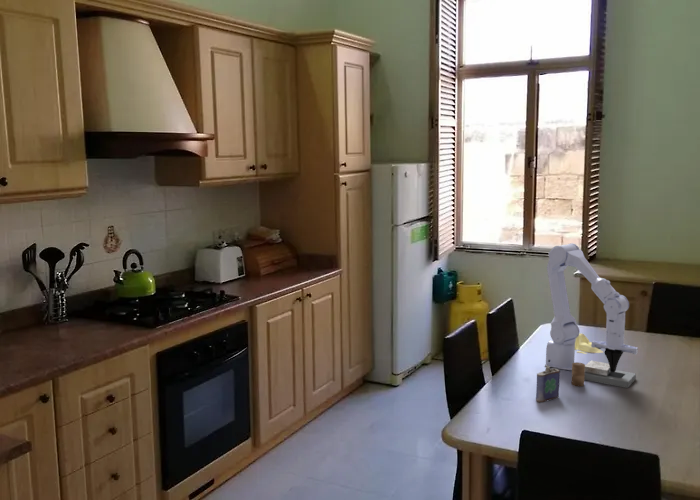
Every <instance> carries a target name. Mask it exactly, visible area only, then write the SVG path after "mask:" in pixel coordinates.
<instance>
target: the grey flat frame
mask: <svg viewBox="0 0 700 500" xmlns="http://www.w3.org/2000/svg"><path fill="white" fill-rule="evenodd" d="M636 375H637V374H636V373H634V372H629V371H624V370H618V369H616V371H615V372H611V373H610V374H609V375H608V376H604V375H598V374H593V373H587V372H585V376H584V381H590V382H596V383H600V384H605V385H610V386H616V387H621V388H626V389H628V388H630V386H631V385H632V384H633V383H634V382H635V380H636V378H637V377H636Z"/></svg>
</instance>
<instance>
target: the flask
mask: <svg viewBox="0 0 700 500" xmlns="http://www.w3.org/2000/svg"><path fill="white" fill-rule="evenodd" d="M543 367H544V368H545V369H544V370H542V371H540V372H538V373H536V392H535V393H536V394H535V401H536V402H537V403H544V402H548V401H547V400H549V401H551V400H555V399H559V398H558V397H559V392H560V391H559V390H560V378H561V370H560V369H559V368H554V367H552V368H551V367H549V366H548V365H547V366H545V365H544V366H543Z"/></svg>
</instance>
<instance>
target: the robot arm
mask: <svg viewBox="0 0 700 500" xmlns="http://www.w3.org/2000/svg"><path fill="white" fill-rule="evenodd" d="M547 253H548V261H547V266H546V271H547V277H548V284H549V289H550V295H551V297H550V298H551V301H552V302H551V303H552V307H553V314H554V317H553V319H552V321H551V322H550V332H549V334H550V338H551V339H550V340H548V341H547V343H546V350H545V364H544V366H545V367H547V365H548V366H549V368H554V369H558V370H560V369H561V370H564V371H565V370H566V371H572V363H575V355H576V354H575V352H576V350H575V341H576V338H577V337H578V336H579V333H580V327H579V326H578V324H577V322H576V318H575V317H574V316H573V315H572V314H571V308H570V303H569V297H568V292H567V286H566V285H567V284H566V277H565V272H564V271H565V270H566V269H567V268H568V267H574V268H576V270H578V271H579V273H581V275H583V277H585V279H586V280H587V281H588V282H589V283H590V284H591V285H590V286H591V287H590V288H591V290H592V292H593V293H594V294H595V295H596V297H598V299H599V300H600V302H601V303H602V304H603V310H604V311H605V314H606V317H605V318H606V325H605V327H606V328H605V341H604V340H603V341H602V340H592V341H591V342H592V345H591V347H593V348H595V347H597V349H604V355H605V357H606V359H607V362H608V364H609V366H610V371H611V372H615V371H616V370H617V366H618V364H619V361H620V359H621V357H622V356H623V355H624V353H628V354H632V355H637V354H638V353H639V347H638V346H637V347H636V346H632V345H628V344H625V329H626V327H625V326H626V312H627V311H628V310H629V308H630V301H629V300H628V298H627V297H626V296H625V295H623V294H620V292H618V291H616V289H615V288H614V287H613V286H612V285H611V281H610V280H609V279H606V278H603V277H600V276H599V275H598V273H597V272H596V271H595V269H594V268H593V267H592V265H591V264H590V263H589V261H588V260H587V258H586V257H585V254H584V252H583V250H582V249H580V247H579V246H578V245H577V244H576V243H573V242H571V243H568V244H562V245H555V246H554V247H552V248H551V250H549V252H547Z"/></svg>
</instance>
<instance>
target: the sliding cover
mask: <svg viewBox="0 0 700 500" xmlns="http://www.w3.org/2000/svg"><path fill="white" fill-rule="evenodd" d="M585 372H587V373H593V374H598V375H604V376H608V375H609V374H610V373H611V371H610V366H609V362H608V363H606V362H603V361H596V360H590V361H588V362H587V364H585Z"/></svg>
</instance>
